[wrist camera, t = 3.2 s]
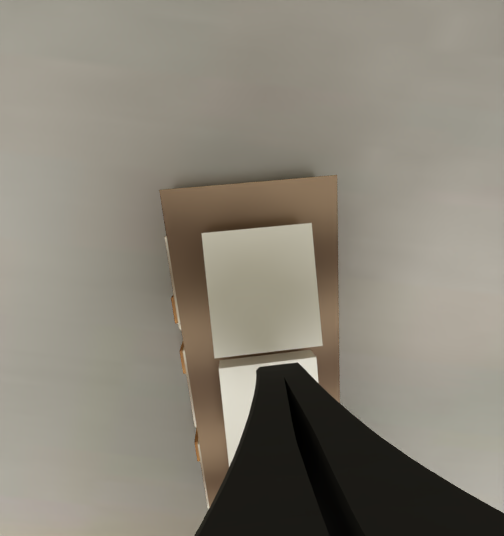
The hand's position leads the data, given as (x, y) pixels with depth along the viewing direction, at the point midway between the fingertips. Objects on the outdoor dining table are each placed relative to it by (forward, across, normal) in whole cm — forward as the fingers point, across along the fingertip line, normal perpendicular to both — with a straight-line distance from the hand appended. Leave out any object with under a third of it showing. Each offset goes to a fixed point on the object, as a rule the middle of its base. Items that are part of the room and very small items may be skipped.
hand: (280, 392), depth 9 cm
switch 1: (+4, 0, -2) cm, 5 cm away
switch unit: (+8, 0, +4) cm, 9 cm away
